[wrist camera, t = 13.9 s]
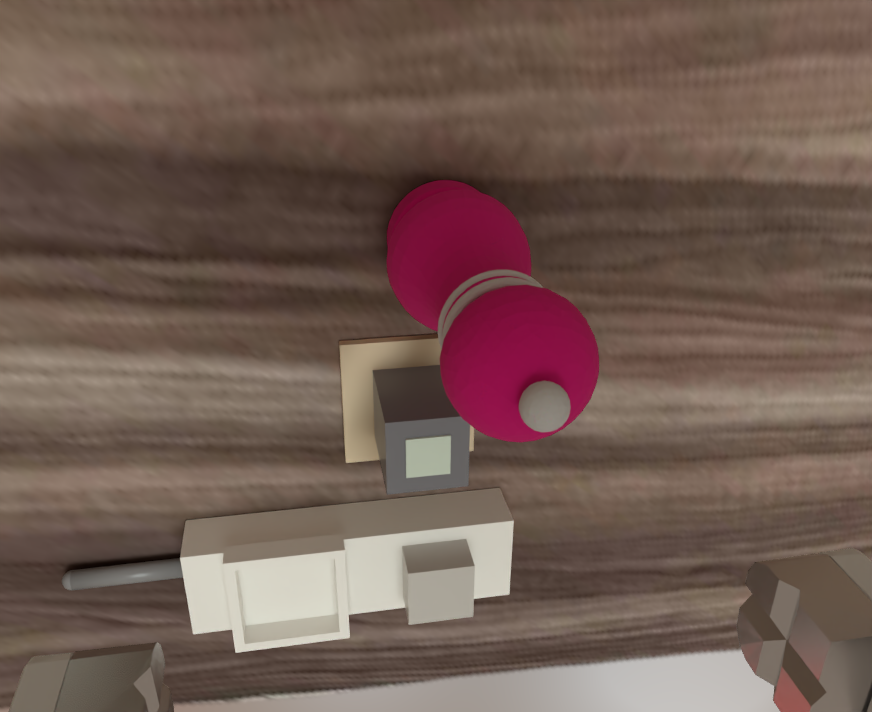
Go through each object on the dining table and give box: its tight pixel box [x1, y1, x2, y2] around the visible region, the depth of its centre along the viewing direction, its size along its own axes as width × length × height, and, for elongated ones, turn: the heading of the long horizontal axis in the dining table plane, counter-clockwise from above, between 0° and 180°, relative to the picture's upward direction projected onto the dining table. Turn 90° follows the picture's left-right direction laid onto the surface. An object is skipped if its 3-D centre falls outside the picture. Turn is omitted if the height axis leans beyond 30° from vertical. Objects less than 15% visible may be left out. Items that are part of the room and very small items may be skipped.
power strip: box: [62, 488, 514, 653], centre depth 49 cm, size 28×7×6 cm, turn 90°
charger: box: [373, 365, 470, 494], centre depth 45 cm, size 4×4×6 cm
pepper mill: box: [387, 180, 599, 442], centre depth 36 cm, size 7×7×20 cm
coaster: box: [339, 334, 474, 463], centre depth 48 cm, size 8×8×1 cm
